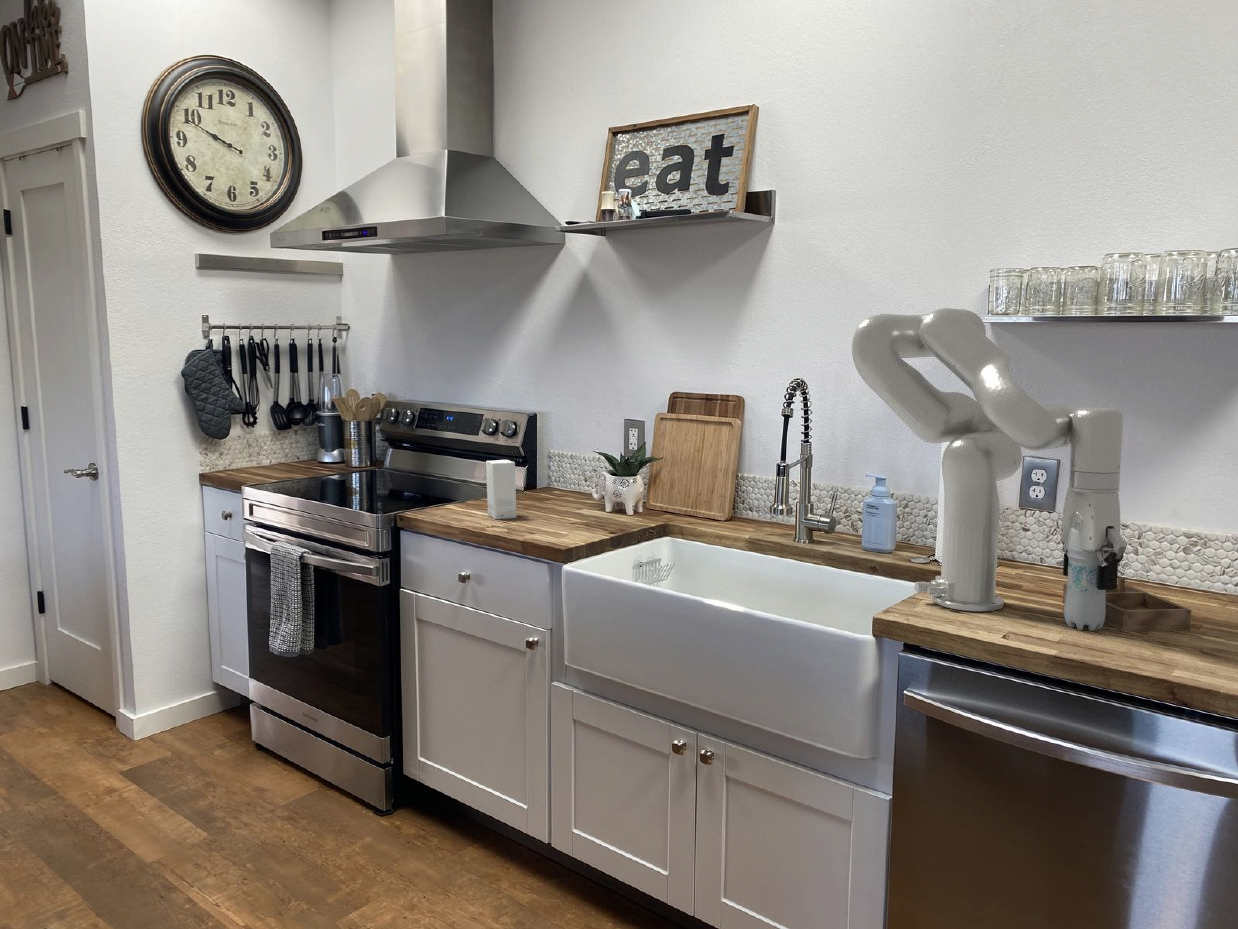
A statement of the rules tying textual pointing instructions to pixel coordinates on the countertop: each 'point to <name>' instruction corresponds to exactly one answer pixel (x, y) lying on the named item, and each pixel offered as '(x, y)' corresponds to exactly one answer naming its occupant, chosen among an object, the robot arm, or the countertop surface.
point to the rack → (1141, 610)
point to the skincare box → (501, 489)
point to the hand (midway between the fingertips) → (1088, 582)
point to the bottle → (1083, 587)
